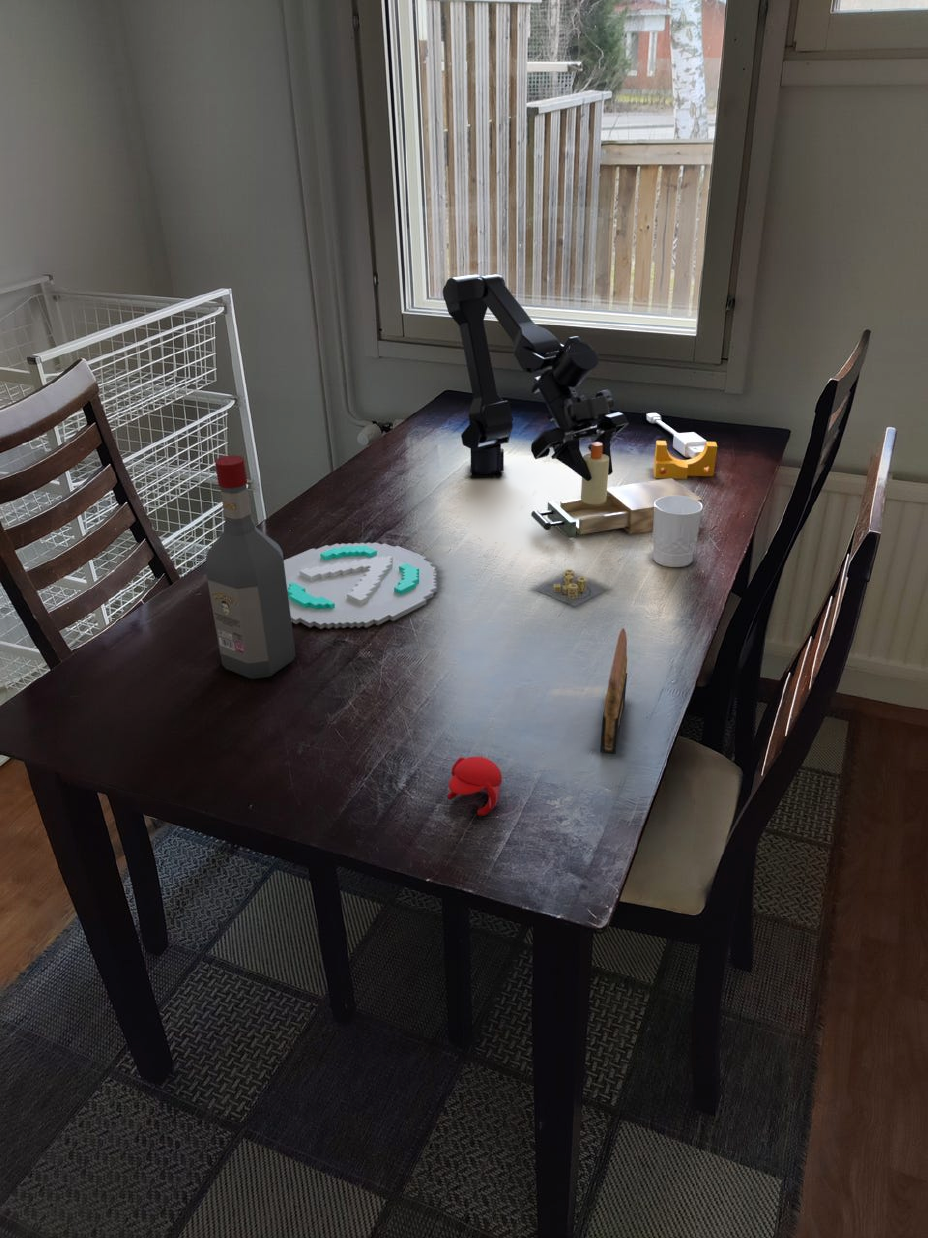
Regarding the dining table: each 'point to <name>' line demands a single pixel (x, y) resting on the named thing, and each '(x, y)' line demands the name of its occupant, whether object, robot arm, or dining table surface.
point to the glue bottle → (595, 476)
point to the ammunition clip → (615, 697)
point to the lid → (357, 584)
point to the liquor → (247, 585)
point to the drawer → (584, 516)
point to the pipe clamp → (684, 462)
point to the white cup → (675, 530)
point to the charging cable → (681, 438)
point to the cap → (476, 780)
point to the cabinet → (646, 500)
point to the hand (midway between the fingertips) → (600, 476)
